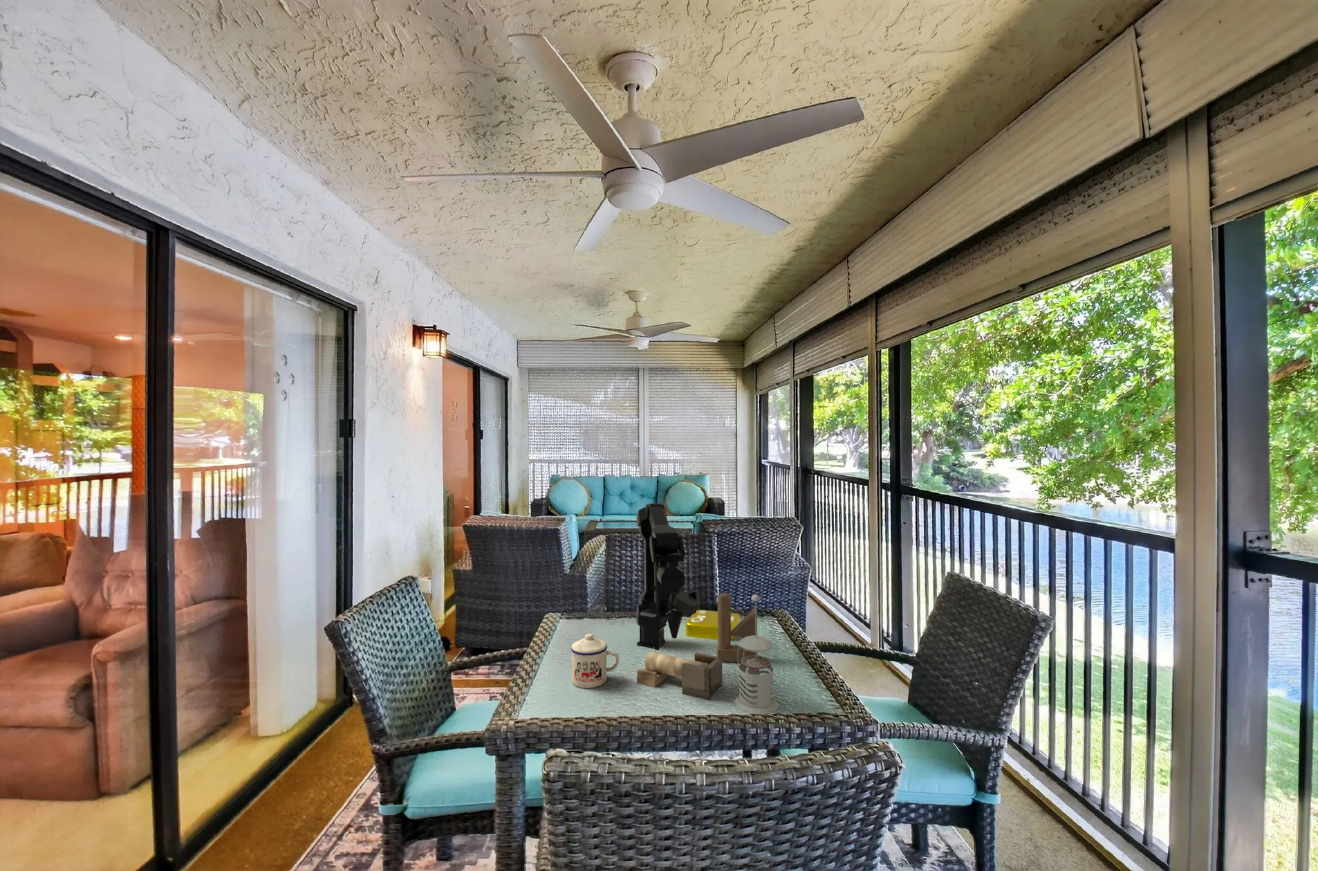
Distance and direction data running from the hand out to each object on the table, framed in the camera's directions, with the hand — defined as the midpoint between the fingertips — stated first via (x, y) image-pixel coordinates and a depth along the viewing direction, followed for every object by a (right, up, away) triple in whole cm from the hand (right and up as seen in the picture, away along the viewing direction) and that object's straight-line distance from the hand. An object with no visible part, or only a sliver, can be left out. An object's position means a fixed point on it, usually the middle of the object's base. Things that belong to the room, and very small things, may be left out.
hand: (666, 643), depth 141 cm
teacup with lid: (-18, -10, +1) cm, 20 cm away
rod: (+3, -8, -1) cm, 8 cm away
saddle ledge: (-3, -10, +2) cm, 10 cm away
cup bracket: (+9, -9, -5) cm, 14 cm away
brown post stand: (+20, -10, +13) cm, 26 cm away
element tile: (+15, -10, +37) cm, 42 cm away
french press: (+20, -10, -11) cm, 25 cm away
